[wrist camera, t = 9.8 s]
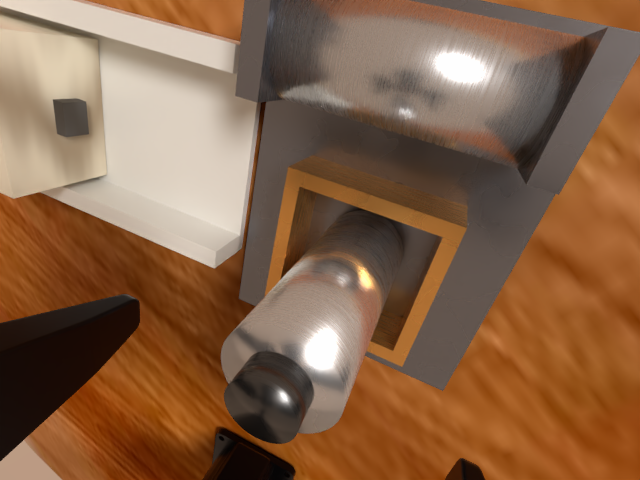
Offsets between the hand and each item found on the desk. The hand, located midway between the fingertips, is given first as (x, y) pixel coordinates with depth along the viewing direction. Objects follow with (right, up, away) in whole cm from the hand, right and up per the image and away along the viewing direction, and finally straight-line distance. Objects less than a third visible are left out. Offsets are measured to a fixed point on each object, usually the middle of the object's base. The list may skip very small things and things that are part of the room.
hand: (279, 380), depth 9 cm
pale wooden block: (-14, +12, +11) cm, 21 cm away
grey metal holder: (+4, +5, +7) cm, 9 cm away
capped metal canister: (+3, +3, +7) cm, 9 cm away
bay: (-10, +10, +10) cm, 18 cm away
